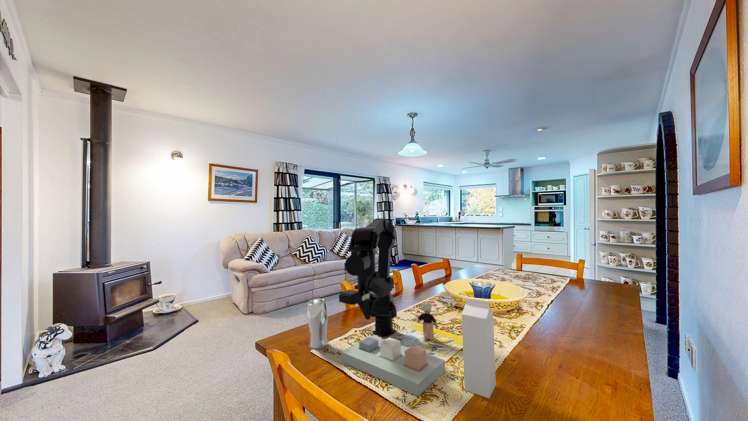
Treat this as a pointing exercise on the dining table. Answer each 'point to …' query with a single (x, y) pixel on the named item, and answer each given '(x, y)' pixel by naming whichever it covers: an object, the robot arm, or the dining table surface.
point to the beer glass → (318, 322)
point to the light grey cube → (390, 349)
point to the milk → (478, 347)
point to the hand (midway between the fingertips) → (367, 319)
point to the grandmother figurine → (427, 323)
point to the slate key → (368, 344)
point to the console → (394, 368)
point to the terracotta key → (415, 358)
